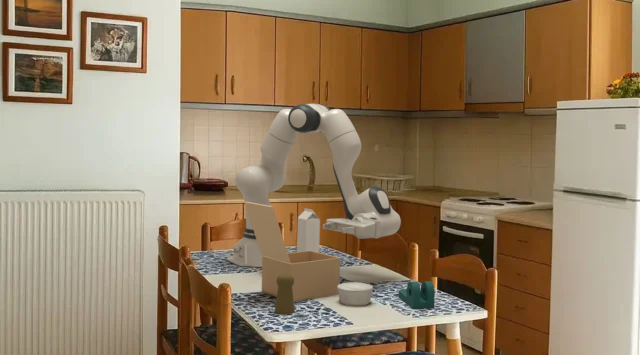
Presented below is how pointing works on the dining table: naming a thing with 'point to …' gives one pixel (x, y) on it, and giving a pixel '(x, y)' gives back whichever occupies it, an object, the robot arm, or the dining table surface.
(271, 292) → the kraft carton
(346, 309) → the dining table surface
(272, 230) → the carton flap
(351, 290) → the ramekin
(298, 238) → the milk carton
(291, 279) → the olive pepper mill
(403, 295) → the bracket
